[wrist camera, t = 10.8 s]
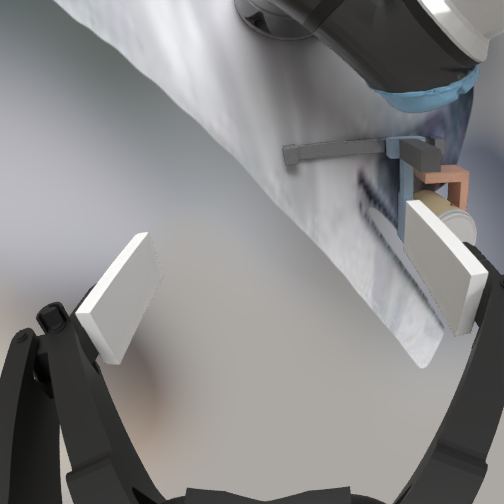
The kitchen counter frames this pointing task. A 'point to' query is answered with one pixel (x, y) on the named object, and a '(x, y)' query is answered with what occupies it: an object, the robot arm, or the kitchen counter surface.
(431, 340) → the kitchen counter surface
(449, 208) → the coffee cup
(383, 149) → the rail
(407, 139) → the pusher
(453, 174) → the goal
